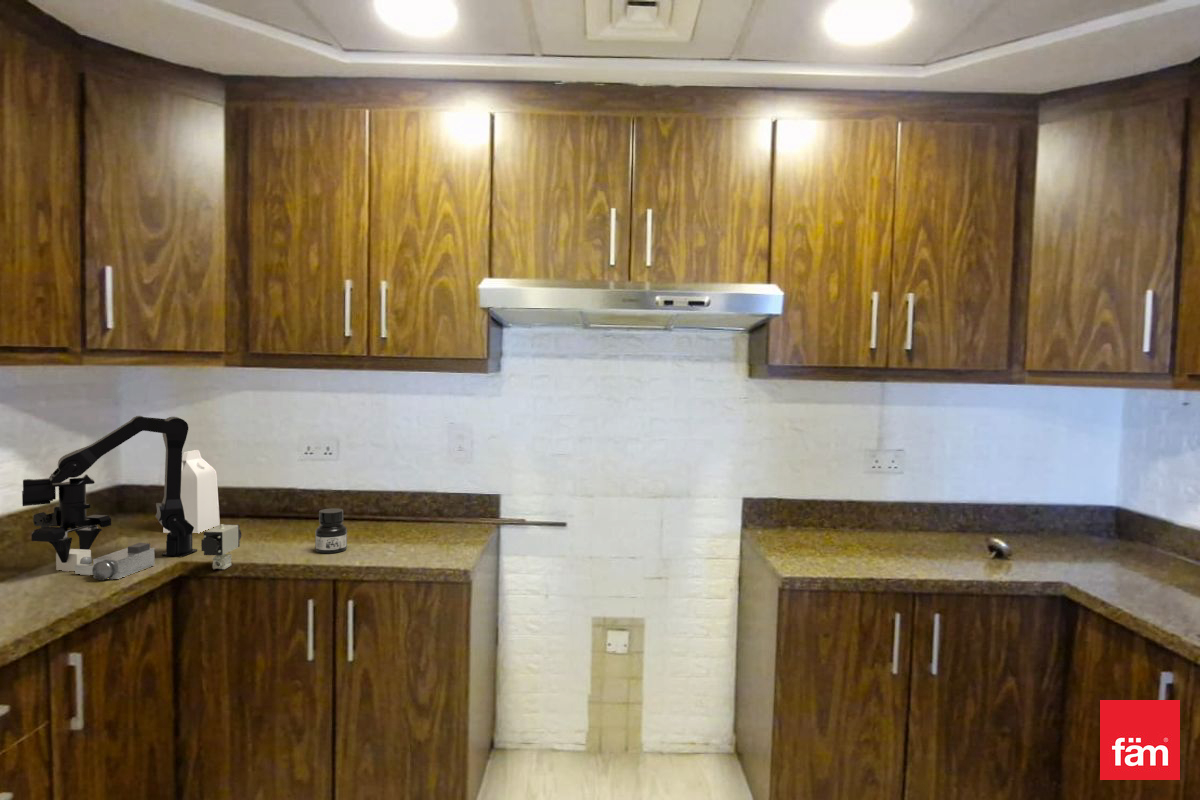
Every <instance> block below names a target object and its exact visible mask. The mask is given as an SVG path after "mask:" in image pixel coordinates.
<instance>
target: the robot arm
mask: <svg viewBox="0 0 1200 800" xmlns="http://www.w3.org/2000/svg"><path fill="white" fill-rule="evenodd" d="M143 431H144V432H150V433H151V432H152V433H160V434H162V437H163V442H164V446H165V463H164V464H165V465H164V489H163V490H164V491H163V493H164V494H163V498H162V502H156V503H155V505H156V514H155V518H156V519H157V520H158V522H159V524H160V525H161V526H162V527H164V528H165V529H167V530H168V531H169V533H166V541H165V543H166V544H165V545H166V549H165V550H166V551H165V552H162V554H161V556H162V555H164V556H166V557H167V556H168V557H179V556H182V557H185V556H188V555H190V554H192V552H193V553H196V552H198V548H193V534H192V532H193V529H194V527H193V526H192V525H191V524H190V523H189V522H188V521H187V520H185V515H184V509H183V505H182V501H181V470H182V458H183V448H184V446H185V443H186V441H187V437H188V434H189V433H188V432H189V424H188V423H187V421H185V419H183V418H180V417H178V416H169V417H167V418H160V417H147V416H143V415H136V416H134V417H132V418H131V419H130V420H129V421H127V422H126V423H124V424H123V425H120V426H119V427H117V428H116V429H114V430H112V431H111V432H109V433H108V434H106V435H105V436H103V437H102V438H100V439H98V440H96V441H95V442H93V443H91V444H89V445H87V446H85V447H82V448H78V449H76V450H73V451H71V452H69V453H67V454H64V455H63V456H61V457H60V458H59V460H58V461H57V462H58V463H57V468H55V470H54V472H53V473H50V475H49V476H48V478H35V479H32V478H27V479H26V478H25V479H22V490H21V501H22V503H21V504H22V507H30V506H41V505H51V502H54V500H56V497H57V496H56V491H57V490H56V487H58V505H57V506H54V508H53V512H51V513H46V512H45V511H43V512H38V513H35V514H33V517H32V518H33V520H32V521H33V524H34V526H35V527H40V528H36V529H34V530H33V531H32V532H31V535H30V536H31V541H32V542H43V543H44V542H45V543H47V542H48V543H49V544H51V545H52V546H53V548H54V549H55V553H57V554H58V556H59V558H60V560H61V562H62V563H66V562H67V560H68V556H69V551H70V549H71V545H72V540H73V537H69V536H68V533H72V532H74V533H76V535H77V536H78V543H79V545H78V546H79V549H86V550H91V549H90V548H91V547H92V545H93V543H94V541H95V540H96V538H97V537H98V535H99V533H100V532H102V531H103V528H106V527H110V526H112V518H111V517H110V516H109V515H107V514H92V515H91V514H90V515H88V516H87V509H91V503H87V487H86V486H87V485H94V484H95V483H96V482H95V480H94V479H93V478H92V477H90V476H89V475H88V474H85V475H83V474H84V473H86V472H87V471H88V469H90V468H91V467H92V466H93V465H94V464H95V463H96V462H97V461H98V460H99V459H100V458H101V457H103V456H104V455H106V454H107V453H110V451H113V450H114V449H116V448H117V447H119V446H120V445H122V444H123V443H125V442H126V441H128V440H130V439H132V438H133V437H135V436H136V435H138V434H139V433H141V432H143ZM81 475H83V476H82V477H80V476H81ZM67 480H68V481H67ZM99 527H100V528H99ZM195 551H196V552H195ZM187 554H188V555H187ZM164 556H163V557H164Z"/></svg>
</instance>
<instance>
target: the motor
mask: <svg viewBox="0 0 1200 800" xmlns="http://www.w3.org/2000/svg"><path fill="white" fill-rule="evenodd" d="M150 545H151V544H150V543H148V542H147V543H146V542H138V543H136V544H132V545H129V546H127V547H125V548H123V549H120V550H116V551H113V552H110V553H108V554H104V555H102V556H98V557H95V558H92V561H93V562H92V563H91V564H77V565H75V572H74V573H75V574H80V575H79V576H81V575H82V576H90V575H94V576H93V579H96V580H98V581H105V580H113V579H119V578H122V577H125V576H127V575H130V574H133V573H135V572H138V571H140V570H143V569H145V568H148V567H151V566H153V565H155V563H156V562H155V561H156V560H155V547H151V546H150ZM151 568H152V567H151ZM148 569H149V568H148ZM143 571H144V570H143ZM140 572H141V571H140ZM138 573H139V572H138ZM75 574H74V575H75ZM135 574H136V573H135ZM133 575H134V574H133ZM130 576H131V575H130ZM127 577H128V576H127ZM107 578H109V579H107ZM125 578H126V577H125ZM122 579H123V578H122ZM119 580H120V579H119Z"/></svg>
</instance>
